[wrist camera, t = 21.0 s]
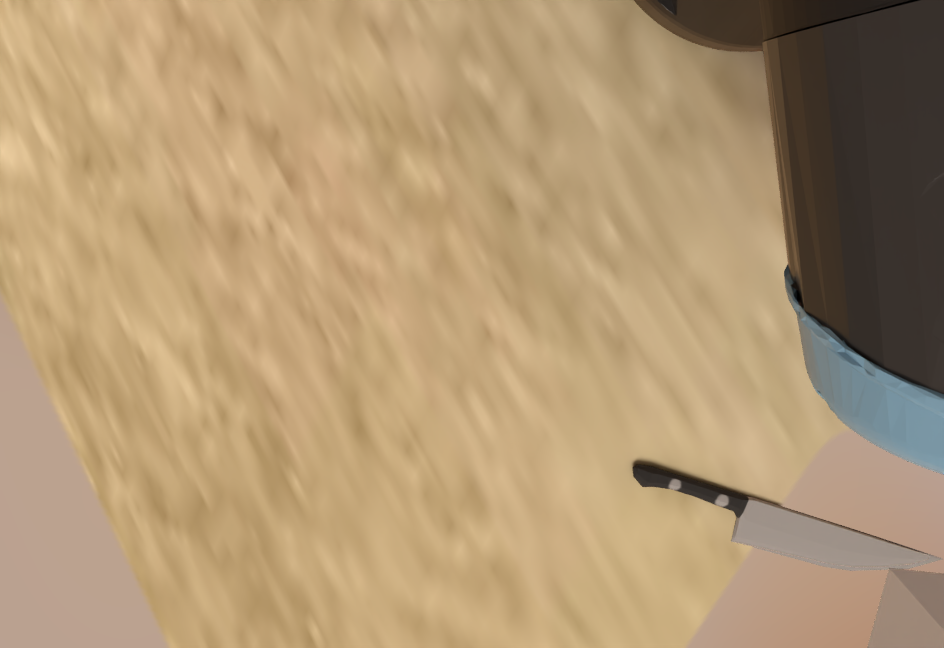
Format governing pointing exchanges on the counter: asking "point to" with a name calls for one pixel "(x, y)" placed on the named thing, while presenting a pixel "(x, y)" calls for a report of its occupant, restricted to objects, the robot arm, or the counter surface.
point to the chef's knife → (793, 529)
